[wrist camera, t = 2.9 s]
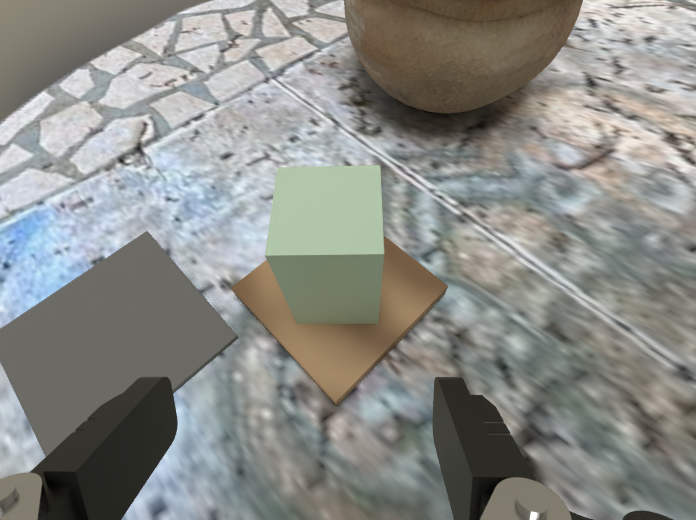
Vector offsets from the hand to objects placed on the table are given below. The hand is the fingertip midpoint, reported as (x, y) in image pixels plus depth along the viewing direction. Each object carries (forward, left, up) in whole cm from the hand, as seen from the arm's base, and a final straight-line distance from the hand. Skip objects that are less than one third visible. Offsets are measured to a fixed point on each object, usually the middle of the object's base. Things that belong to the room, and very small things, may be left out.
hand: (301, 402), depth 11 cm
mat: (+8, -18, -16) cm, 25 cm away
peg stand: (-7, -8, -16) cm, 19 cm away
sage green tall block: (-7, -8, -14) cm, 18 cm away
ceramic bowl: (-34, -19, -16) cm, 42 cm away
